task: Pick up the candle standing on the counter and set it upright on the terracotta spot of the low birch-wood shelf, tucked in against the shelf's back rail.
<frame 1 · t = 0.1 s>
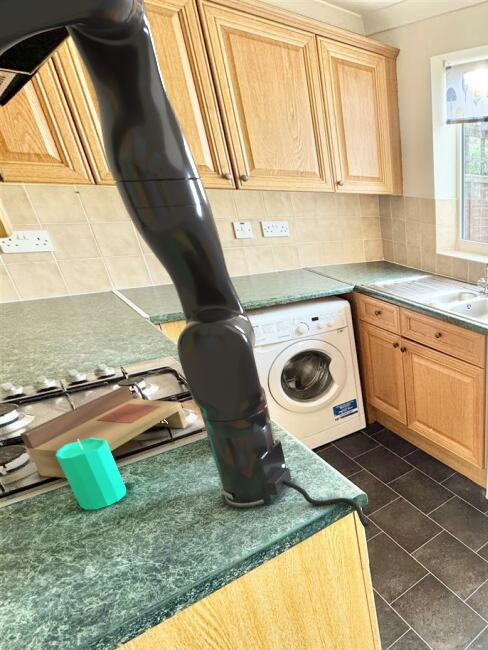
candle: (104, 498, 73), on the counter
shelf: (122, 448, 86), on the counter
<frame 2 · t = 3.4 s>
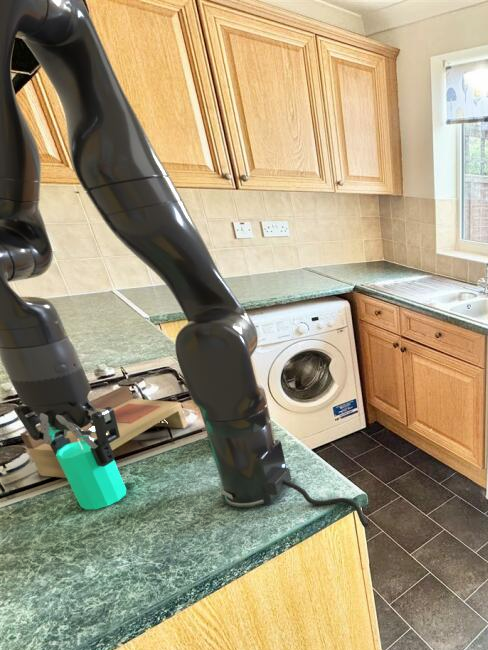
hand: (87, 461, 69), 8 cm above the counter, tool pointing down, fingers closed on candle, 6 cm apart
candle: (104, 498, 73), on the counter, touching gripper
everything else where it was.
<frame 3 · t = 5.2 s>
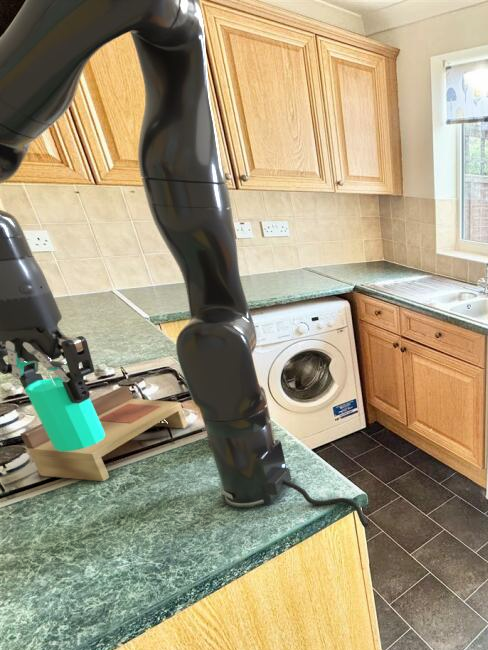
hand: (60, 399, 64), 19 cm above the counter, tool pointing down, fingers closed on candle, 6 cm apart
candle: (81, 442, 68), point 11 cm above the counter, touching gripper
everything else where it was.
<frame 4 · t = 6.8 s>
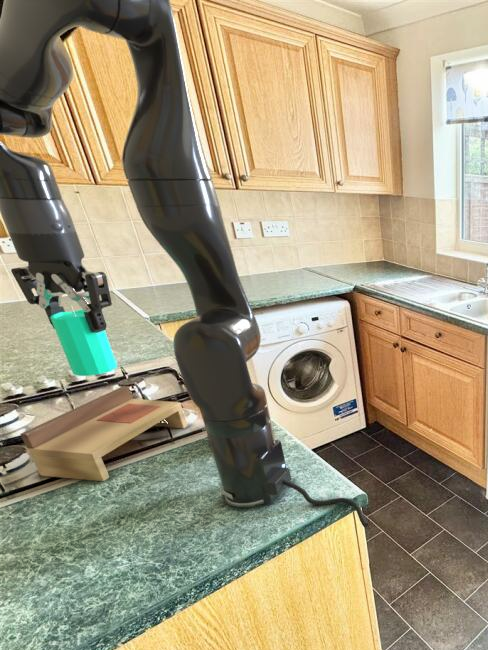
hand: (80, 329, 74), 26 cm above the counter, tool pointing down, fingers closed on candle, 6 cm apart
candle: (96, 370, 77), point 18 cm above the counter, touching gripper
everything else where it was.
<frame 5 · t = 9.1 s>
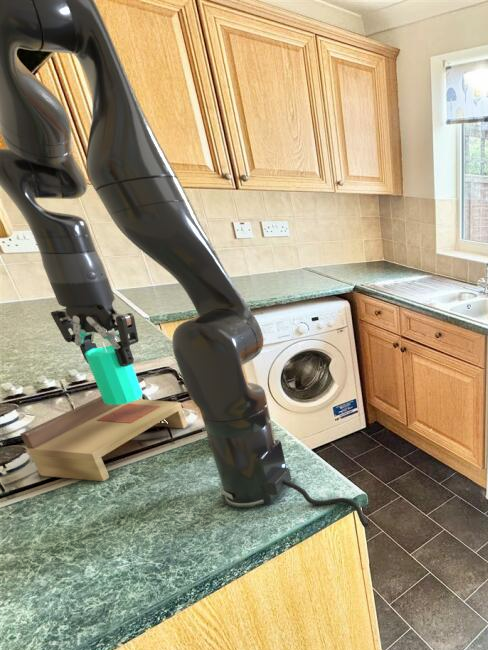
hand: (110, 363, 82), 17 cm above the counter, tool pointing down, fingers closed on candle, 6 cm apart
candle: (124, 399, 85), point 9 cm above the counter, touching gripper
everything else where it was.
when the fingers open (14 cm above the counter, at t = 10.5 s): candle stays where it is, resting on shelf.
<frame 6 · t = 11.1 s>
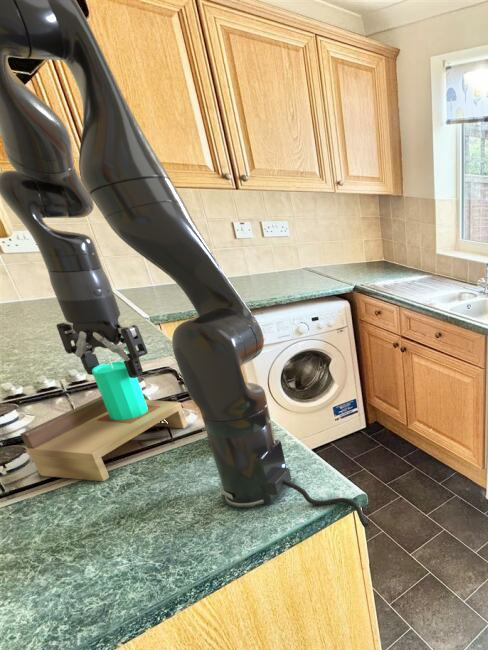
hand: (115, 374, 83), 15 cm above the counter, tool pointing down, fingers open, 8 cm apart
candle: (129, 414, 87), point 6 cm above the counter, touching shelf
everything else where it was.
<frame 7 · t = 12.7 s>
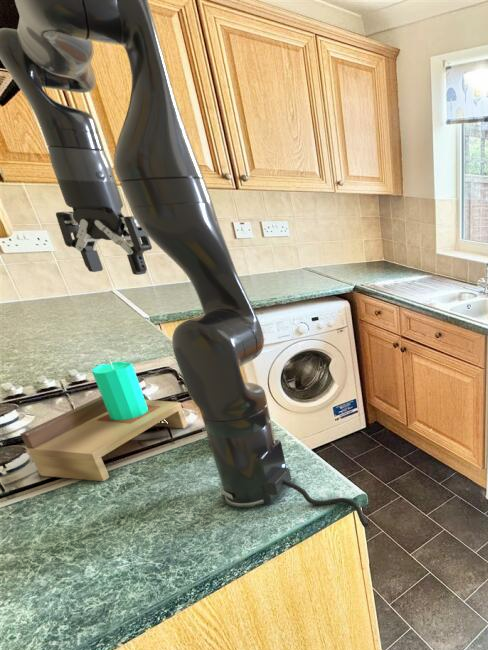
hand: (118, 272, 80), 34 cm above the counter, tool pointing down, fingers open, 8 cm apart
nothing on the counter moved.
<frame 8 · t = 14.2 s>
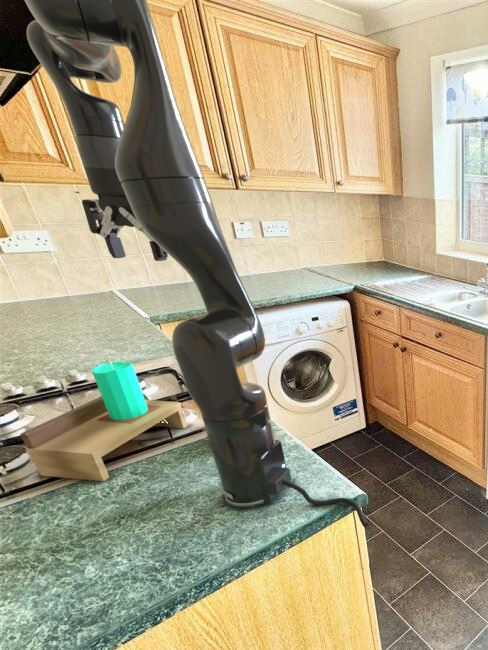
hand: (140, 259, 82), 36 cm above the counter, tool pointing down, fingers open, 8 cm apart
nothing on the counter moved.
at the end: candle 0.1 cm from the target spot on the shelf, point 5.9 cm above the shelf's base; candle tilted 0°; the gripper is holding nothing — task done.
